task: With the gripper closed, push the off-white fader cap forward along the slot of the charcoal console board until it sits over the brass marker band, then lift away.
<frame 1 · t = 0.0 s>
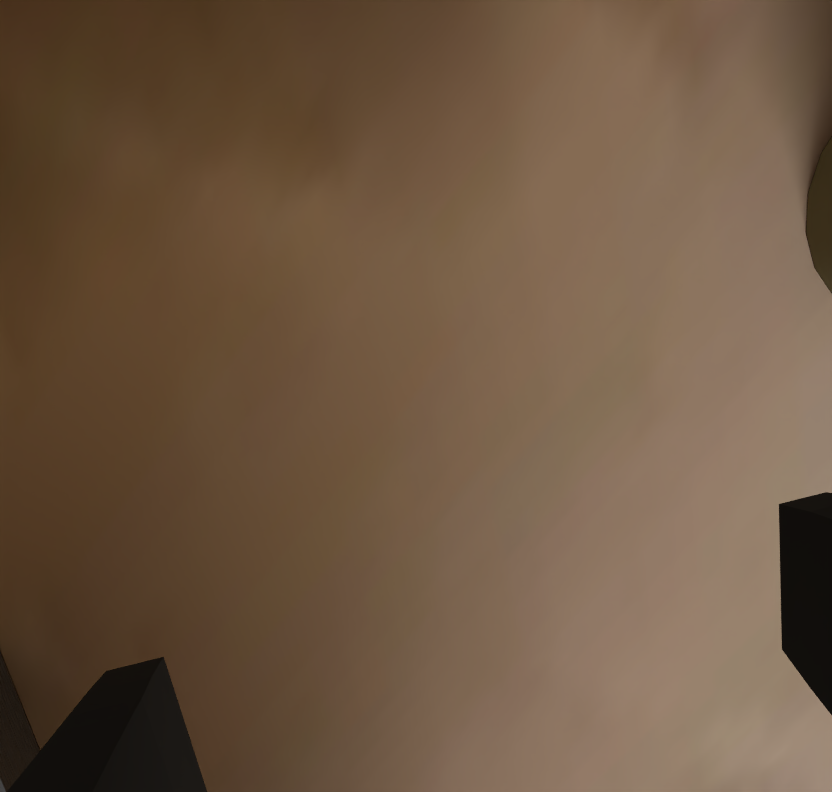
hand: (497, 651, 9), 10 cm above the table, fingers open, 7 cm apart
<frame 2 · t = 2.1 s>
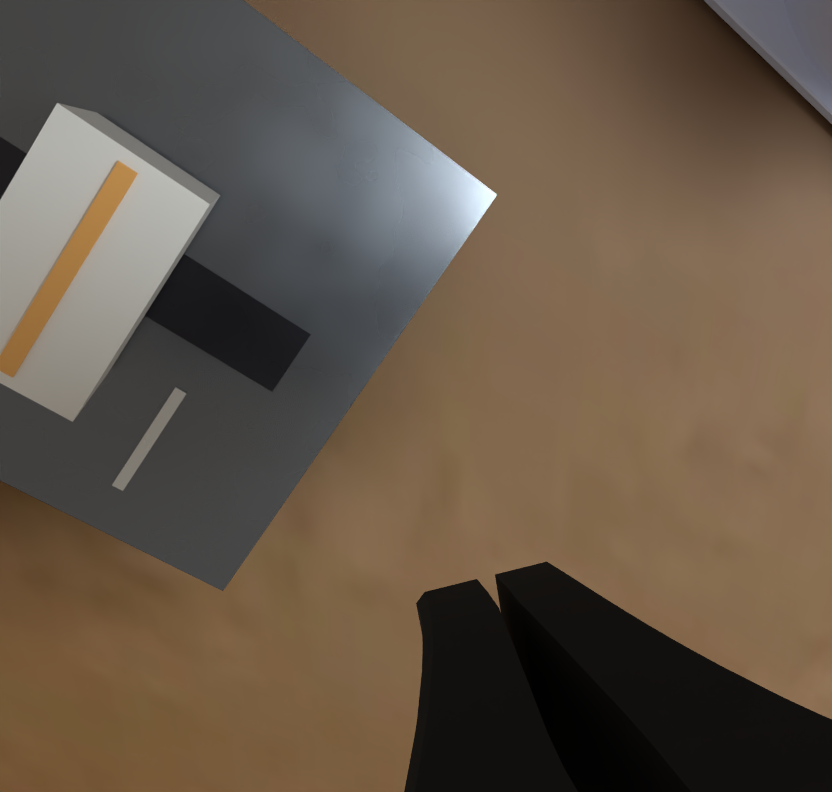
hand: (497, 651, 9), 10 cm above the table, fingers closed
fader: (84, 260, 13), point 4 cm above the table, slide at -4.0 cm
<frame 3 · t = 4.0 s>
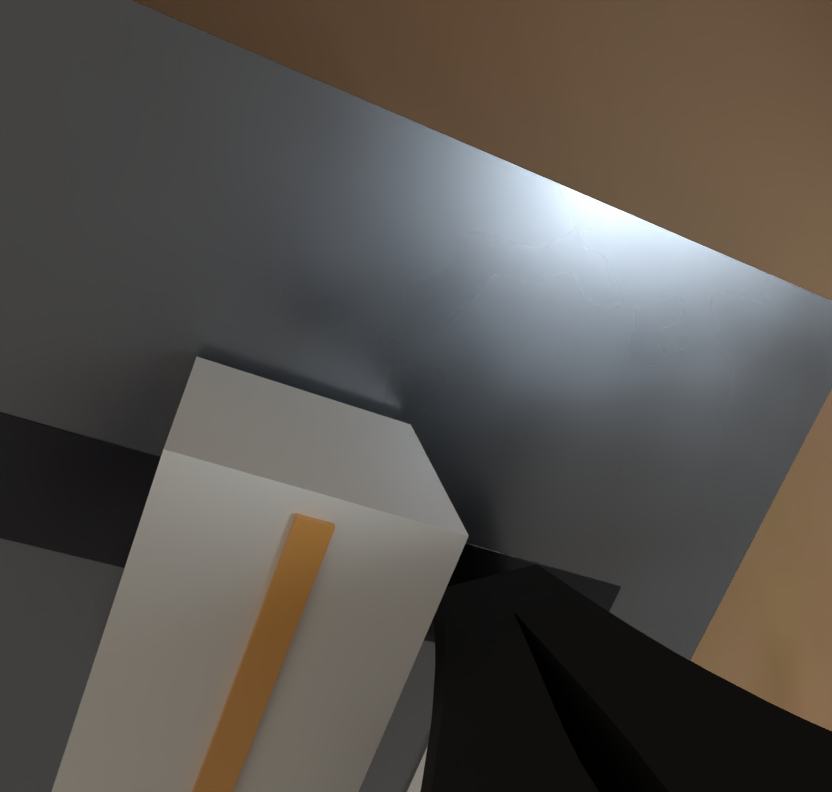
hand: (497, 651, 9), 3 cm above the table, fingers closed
fader: (245, 623, 8), point 4 cm above the table, slide at -3.3 cm, touching gripper
console: (6, 405, 10), on the table
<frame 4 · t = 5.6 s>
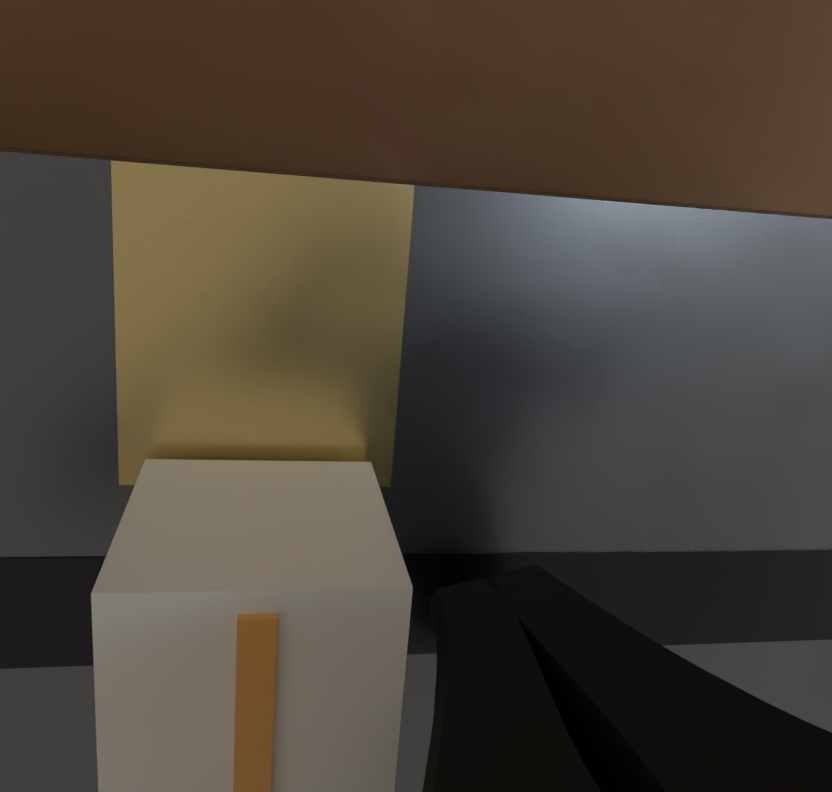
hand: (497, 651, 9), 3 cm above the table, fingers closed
fader: (254, 700, 8), point 4 cm above the table, slide at 3.5 cm, touching gripper
console: (493, 531, 12), on the table
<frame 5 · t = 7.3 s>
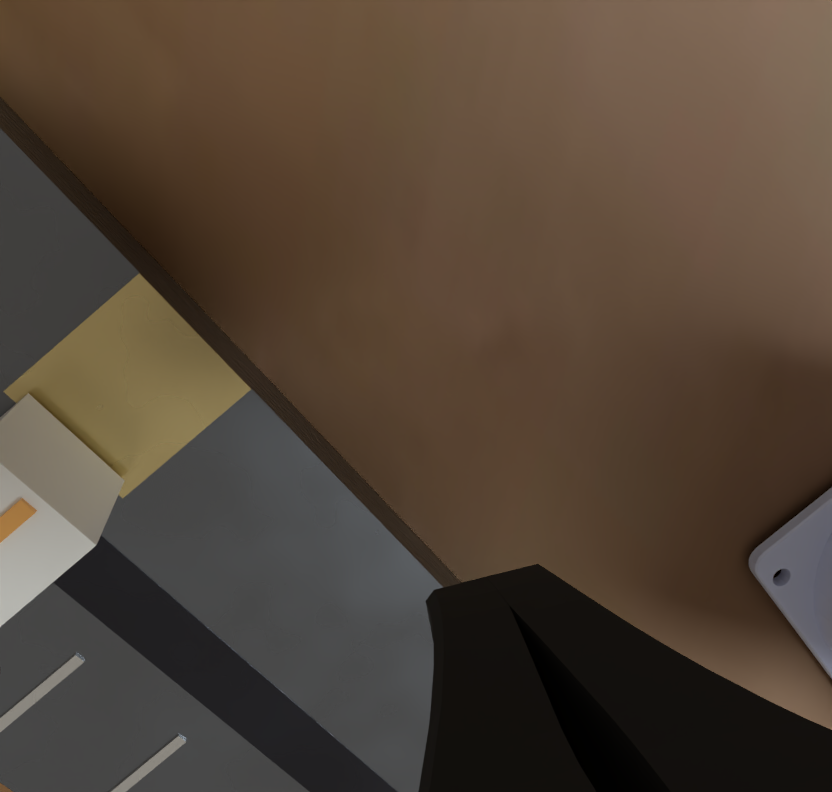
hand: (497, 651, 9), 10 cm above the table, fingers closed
console: (150, 562, 18), on the table
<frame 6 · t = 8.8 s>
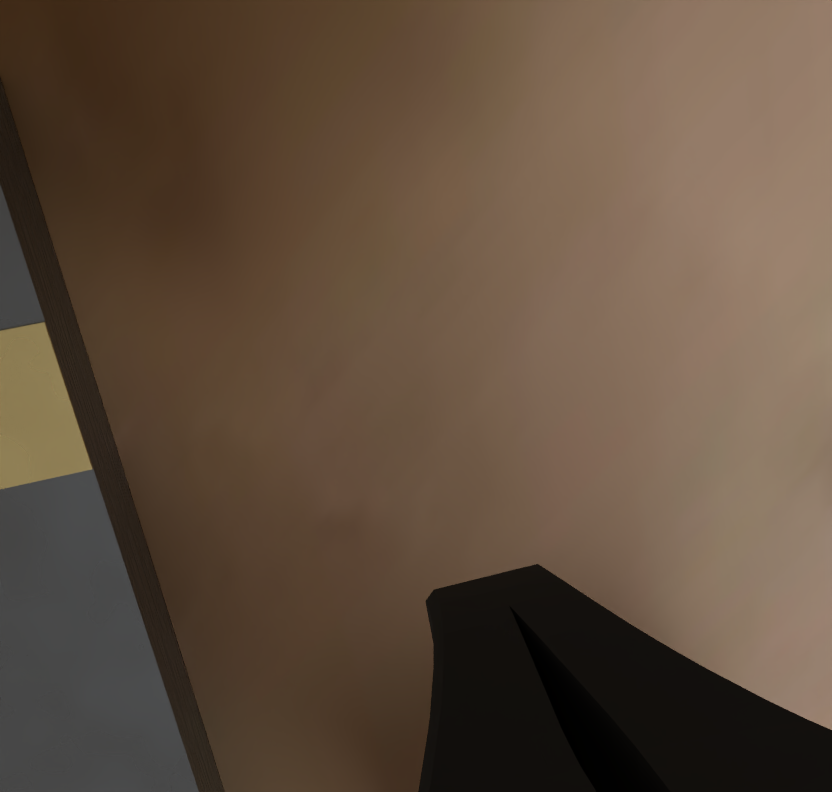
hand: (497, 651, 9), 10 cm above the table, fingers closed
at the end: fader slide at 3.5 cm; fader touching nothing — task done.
